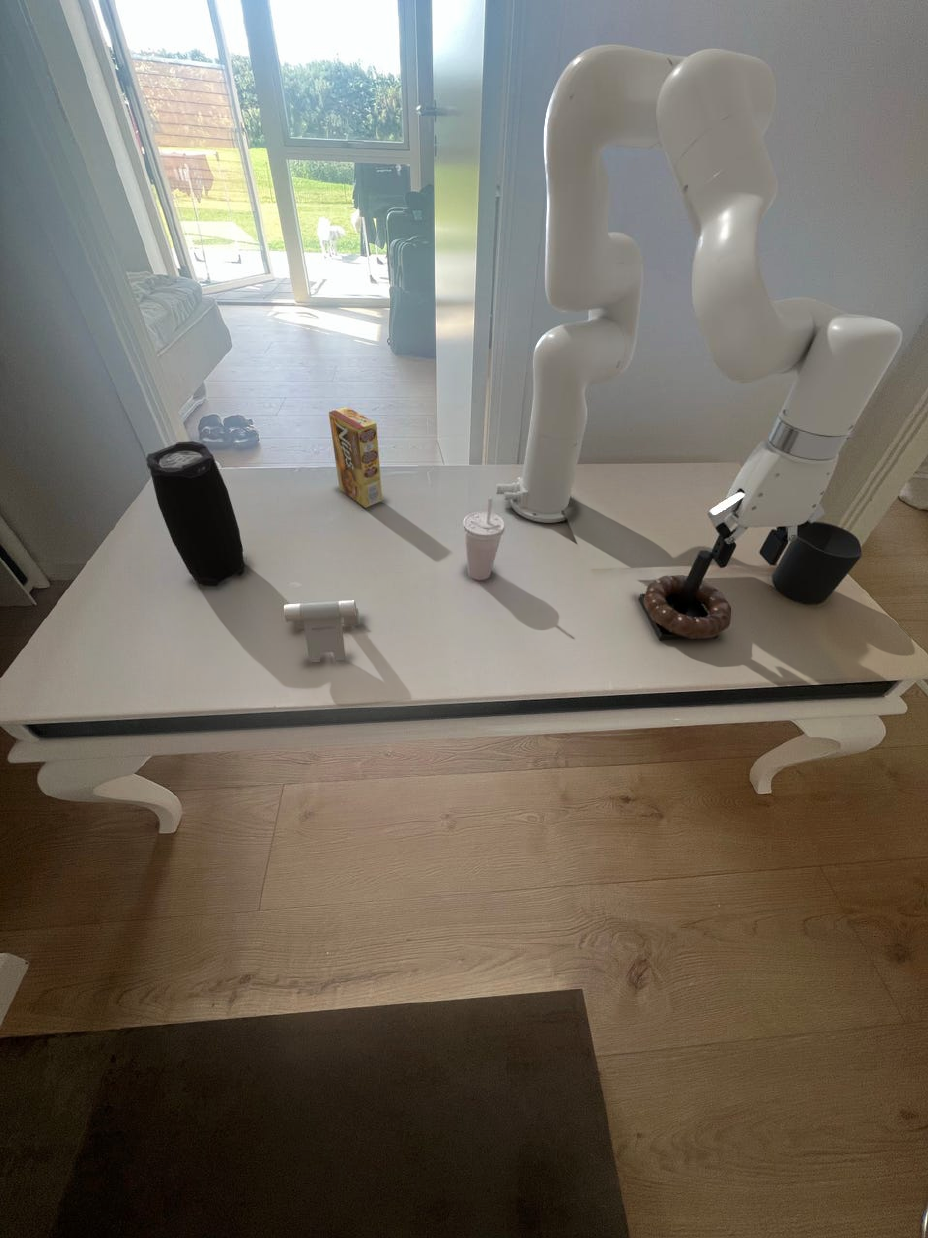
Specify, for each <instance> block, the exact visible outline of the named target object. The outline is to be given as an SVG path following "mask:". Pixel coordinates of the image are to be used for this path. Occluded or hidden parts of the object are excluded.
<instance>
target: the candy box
mask: <svg viewBox="0 0 928 1238" xmlns="http://www.w3.org/2000/svg"><path fill="white" fill-rule="evenodd" d="M328 418H329V424H330V433H331V439H332V446H333V453H334V460H335V467H336V475H337V481H338V482H337V483H338V488H339V490H340V491H341V492H343V494H344V495H345V494H346V495H347V496H348V497H349V498H351V499H352V500H354V502H356V503H358V504H359V505H361V506H362V507H364V508H365V509H367V508H369V507H371V506H374V505H376V504H379V503H381V502H382V501H383V495H382V494H383V493H382V482H381V470H380V469H381V468H380V456H379V442H378V441H379V440H378V428H377V423H376V422H374V421H373V420H371V419H369V418H368V417H366V416H365V415H363V414H361V413H359V412H357V411H355V410H354V409H352V408H350V407H349V406H345V407H341V408H337V409H335V410H331V411H329V412H328Z"/></svg>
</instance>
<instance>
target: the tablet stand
mask: <svg viewBox="0 0 928 1238" xmlns="http://www.w3.org/2000/svg"><path fill="white" fill-rule="evenodd" d="M283 615H284V616H283V617H284V620H285V622H286V623H288V622H289V623H290V622H292V623H293V625H294V627H295V630H302V631H303V630H304V632H305V641H306V647H307V655H308V661H309V662H310V663H320V662H321V654H323V653H332V654H333V657H334V660H335V662H336V661H344V660H345V659H346V650H345V641H344V630H343V627H355V626H360V613H359V608H357V605H356V600H355V599H353V600H351V599H350V600H337V601H323V602H322V601H321V602H307V603H291V604H284V606H283Z"/></svg>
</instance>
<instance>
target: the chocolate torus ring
mask: <svg viewBox="0 0 928 1238" xmlns="http://www.w3.org/2000/svg"><path fill="white" fill-rule="evenodd" d="M687 577H688V575H685V574H684V575H683V574H681V575H679V574H678V575H676V574H675V575H664V576H661V577H659V578H657V579H655V580H654V581H652V582H650V583H649V584H648V585H647V587H646V589H645V593H644V594H645V597H644V605H645V607H646V609H647V611H648V613H649V615H650V616H651V618H652V619H653V620H654V621H655V622H657V623H658V624H659V625H661V626H662V627H663V628H665V629H666V630H667V631H669V632H671V633H675V634H678V635H681V636H684V637H687V638H691V639H690V640H696V639H695V638H705V639H713V638H712V637H715V636H716V635H718V634H719V635H720V634H721V633H723V632H724V631H725V630H727V629H728V628H729V626H730V625H731V622H732V621H731V620H732V606H731V604H730V603H729V601H728V600H727V599H726V597H725V595H724V594H723V593H722V592H721V591H720V590H718V589H717V588H715V587H714V586H713V585H711V584H709V583H708V582H706V581H704V580H702V582H701V584H700V586H699V588H698V590H697V592H696V594H695V596H694V599H695V600H697V601H698V602H700V603H701V604H702V605H703V607H704V608H705V610H706V611H707V613H708V616H706V617H696V618H694V617H691V616H687V615H684V614H681V613H679V612H677V611H676V610H675V609H673V608H672V607H670V606H669V605H668V603H667V601H666V597H667V596H669V595H679V594H680V592H681V590H682V588H683V586H684V583H685V581H686V579H687ZM719 635H718V636H719Z"/></svg>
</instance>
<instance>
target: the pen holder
mask: <svg viewBox="0 0 928 1238" xmlns="http://www.w3.org/2000/svg"><path fill="white" fill-rule="evenodd" d="M862 556H863V555H862V545H861V543H860V540H859V539H858V537H857V536H856V535H855V534H853V533H852V532H851V531H848V530H847V529H844V528H843V527H840V526H837V525H836V524H835V525H834V524H831V523H827V522H824V521H814V522H813V523H810V526H809V527H808V528H806V529H805V530H803V531H802V532H800V533H798V534H797V537H796V539H795V540H793V541H789V543H788V545H787V546H786V548H785V550H784V552H783V554H782V557H781V559H779V562H778V564H777V566H776V568H775V570H774V572H773V574H772V576H771V581H772V585H773V587H774V588H775V589H776V590H777V591H778V593H780V594H781V595H782V596H783V597H785V598H787V599H789V600H791V601H794V602H796V603H800V604H803V605H819V604H821V603H824V602H826V600H828V598H829V597H830V596H831V595H832V593H833V592H835V590H836V589H837V588H838V586H839V585H841V583H842V582H843V580H844V579H845V578H846V576H847V575H848V574H849V573H850V572H851V570H852V569H853V568H854V566H855V565H856V564H857V563H858V561H859V560H860V558H862Z"/></svg>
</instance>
